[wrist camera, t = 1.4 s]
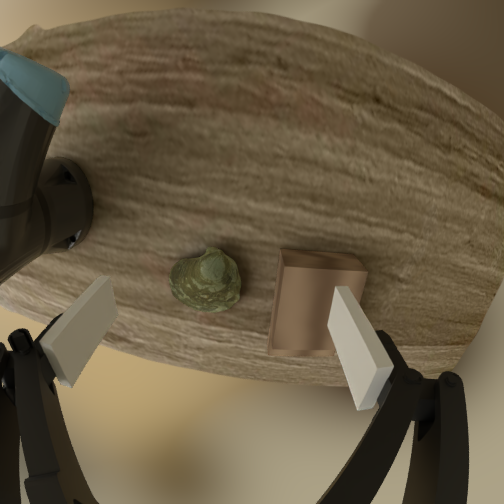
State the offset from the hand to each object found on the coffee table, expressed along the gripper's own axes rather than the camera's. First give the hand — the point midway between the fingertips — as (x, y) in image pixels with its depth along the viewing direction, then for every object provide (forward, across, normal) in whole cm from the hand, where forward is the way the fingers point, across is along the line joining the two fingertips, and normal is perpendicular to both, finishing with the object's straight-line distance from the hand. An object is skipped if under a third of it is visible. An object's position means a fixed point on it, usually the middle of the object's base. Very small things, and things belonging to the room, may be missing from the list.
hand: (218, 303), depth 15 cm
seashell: (+23, -4, -10) cm, 26 cm away
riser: (+23, +11, -14) cm, 29 cm away
